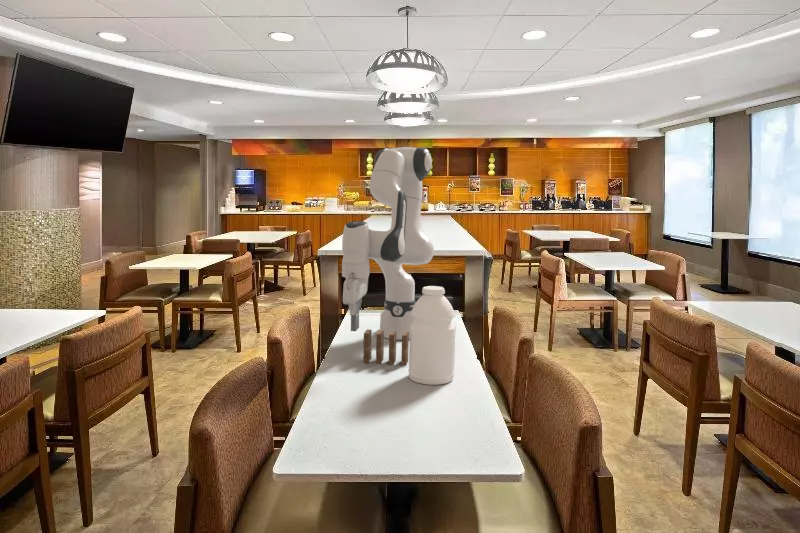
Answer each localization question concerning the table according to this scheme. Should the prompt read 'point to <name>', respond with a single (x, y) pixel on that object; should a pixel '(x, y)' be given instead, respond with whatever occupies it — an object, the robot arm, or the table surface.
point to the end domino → (355, 318)
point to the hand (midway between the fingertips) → (355, 312)
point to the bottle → (432, 338)
